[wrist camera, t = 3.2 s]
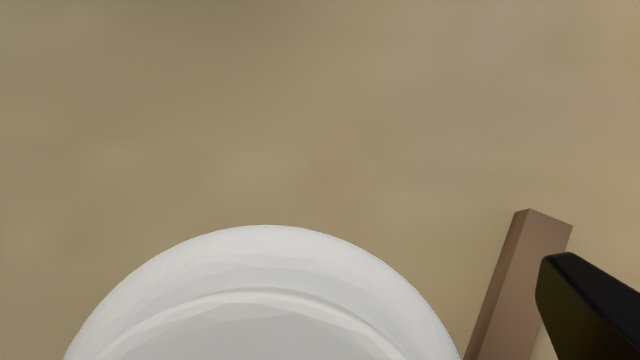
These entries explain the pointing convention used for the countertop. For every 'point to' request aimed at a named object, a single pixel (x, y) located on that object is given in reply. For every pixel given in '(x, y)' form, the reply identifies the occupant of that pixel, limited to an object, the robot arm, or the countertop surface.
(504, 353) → the strip
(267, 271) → the supplement bottle
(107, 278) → the countertop surface
